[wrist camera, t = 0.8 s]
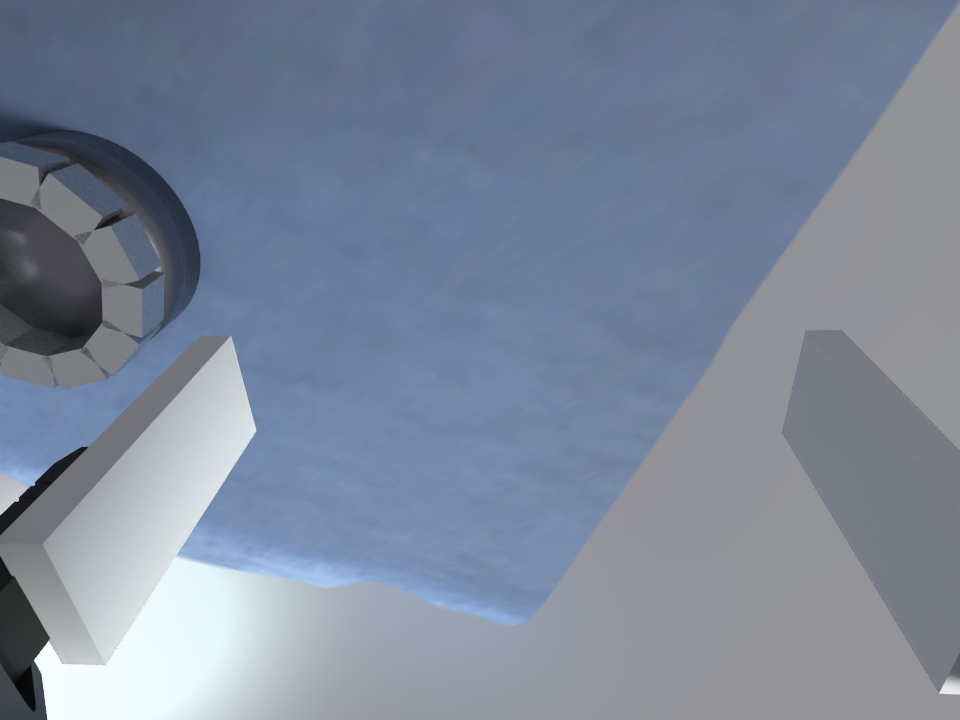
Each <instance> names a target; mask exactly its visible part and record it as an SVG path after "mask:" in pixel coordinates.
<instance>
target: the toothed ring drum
mask: <svg viewBox="0 0 960 720" xmlns="http://www.w3.org/2000/svg"><path fill="white" fill-rule="evenodd" d="M199 274H200V252H199V245H198V240H197V237H196V233H195V230H194V227H193V225H192V222H191V220H190V218H189V215H188V213H187V212H186V210H185V208H184V206H183V204H182V203H181V201H180V200H179V198H178V197H177V195H176V194H175V193H174V191H173V190H172V188H171V187H170V186H169V185H168V184H167V183H166V182H165V180H164V179H163V178H162V177H161V176H160V175H159V174H158V173H157V172H156V171H155V170H154V169H153V168H152V167H150V166H149V165H148V164H147V163H145V162H144V161H143V160H142V159H140V158H139V157H138V156H136V155H135V154H133V153H131V152H130V151H128V150H126V149H125V148H123V147H121V146H119V145H117V144H115V143H113V142H111V141H109V140H106V139H103V138H100V137H97V136H94V135H90V134H86V133H81V132H72V131H54V132H47V133H43V134H38V135H34V136H30V137H26V138H21V139H17V140H13V141H9V142H5V143H1V141H0V366H1V367H2V375H4V376H7V377H11V378H15V379H19V380H23V381H27V382H31V383H35V384H38V385H42V386H46V387H50V388H56V387H57V386H58V385H61V387H62V388H63V389H65V388H70V387H74V386H79V385H84V384H88V383H93V382H98V381H102V380H107V379H108V378H109V377H110V376H111V375H113V376H114V375H115V374H116V373H117V372H118V371H119V370H121V369H122V368H123V367H124V366H125V365H126V364H127V363H129V362H130V361H131V360H132V359H133V358H134V357H136V355H137V354H138V353H139V352H140V351H141V349H142V348H143V347H144V346H145V345H146V343H147V342H148V341H149V340H151V339H152V338H153V337H154V336H155V335H156V334H158V333H159V332H160V331H161V330H162V329H163V328H165V327H166V326H167V325H168V324H169V323H170V322H172V321H173V320H174V319H175V318H176V317H177V316H178V315H179V314H180V313H181V312H182V311H183V310H184V309H185V308H186V307H187V305H188V304H189V303H190V301H191V299H192V297H193V295H194V293H195V291H196V288H197V284H198V281H199Z"/></svg>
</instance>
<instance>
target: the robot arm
mask: <svg viewBox="0 0 960 720" xmlns="http://www.w3.org/2000/svg"><path fill="white" fill-rule="evenodd" d="M255 432H256V428H255V424H254V420H253V417H252V413H251V409H250V405H249V402H248V398H247V394H246V390H245V386H244V383H243V379H242V375H241V371H240V367H239V364H238V360H237V356H236V352H235V349H234V345H233V341H232V337H231V336H199V337H198V338H197V339H196V340H195V341H194V342H193V343H192V344H191V345H190V346H189V347H188V348H187V349H186V350H185V351H184V352H183V353H182V354H181V355H180V356H179V357H178V358H177V359H176V360H175V361H174V362H173V363H172V364H171V365H170V366H169V367H168V368H167V369H166V370H165V371H164V372H163V373H162V374H161V375H160V376H159V377H158V378H157V379H156V380H155V381H154V382H153V383H152V384H151V385H150V386H149V387H148V388H147V389H146V390H145V391H144V392H143V393H142V394H141V395H140V396H139V397H138V398H137V399H136V400H135V401H134V402H133V403H132V404H131V405H130V406H129V407H128V408H127V409H126V410H125V411H124V412H123V413H122V414H121V415H120V416H119V417H118V418H117V419H116V420H115V421H114V422H113V423H112V424H111V425H110V426H109V427H108V428H107V429H106V430H105V431H104V432H103V433H102V434H101V435H100V436H99V437H98V438H97V439H96V440H95V441H94V442H93V443H92V444H91V445H90V446H89V447H81V448H79V449H77V450H76V451H74V452H72V453H71V454H69V455H68V456H66V457H64V458H63V459H61V460H59V461H58V462H56V463H54V464H53V465H52V466H51V467H50V468H49V469H48V470H47V471H46V472H45V473H44V474H43V475H42V476H41V477H40V478H39V479H38V480H37V481H36V482H35V486H31V487H30V488H28V489H27V490H26V492H24V493H23V494H22V495H21V496H20V497H19V501H18V502H14V503H13V504H12V505H11V506H10V507H9V508H8V509H7V510H6V511H5V512H4V513H3V514H1V515H0V720H47V714H46V706H45V698H44V691H43V683H42V676H41V673H40V671H39V669H38V667H37V665H36V663H35V662H34V659H35V658H36V657H37V655H38V654H39V653H40V651H41V650H42V649H43V647H44V646H45V645H46V643H47V642H48V641H50V643H51V645H52V646H53V648H54V650H55V652H56V654H57V655H58V657H59V659H60V660H61V662H62V664H85V665H106V664H107V662H108V661H109V660H110V658H111V656H112V655H113V653H114V652H115V650H116V649H117V647H118V646H119V644H120V642H121V641H122V639H123V638H124V636H125V635H126V633H127V631H128V630H129V628H130V627H131V625H132V624H133V622H134V621H135V619H136V617H137V616H138V614H139V613H140V611H141V610H142V608H143V606H144V605H145V603H146V602H147V600H148V599H149V597H150V596H151V594H152V592H153V591H154V589H155V588H156V586H157V585H158V583H159V582H160V580H161V579H162V577H163V575H164V574H165V572H166V571H167V569H168V567H169V566H170V564H171V563H172V561H173V560H174V558H175V557H176V555H177V554H178V552H179V550H180V549H181V547H182V546H183V544H184V543H185V541H186V540H187V538H188V536H189V535H190V533H191V532H192V530H193V529H194V527H195V526H196V524H197V522H198V521H199V519H200V518H201V516H202V515H203V513H204V511H205V510H206V508H207V507H208V505H209V504H210V502H211V501H212V499H213V497H214V496H215V494H216V493H217V491H218V490H219V488H220V487H221V485H222V483H223V482H224V480H225V479H226V477H227V476H228V474H229V473H230V471H231V469H232V468H233V466H234V465H235V463H236V462H237V460H238V458H239V457H240V455H241V454H242V452H243V451H244V449H245V448H246V446H247V444H248V443H249V441H250V440H251V438H252V437H253V435H254V434H255ZM782 434H783V435H784V437H785V439H786V440H787V442H788V444H789V445H790V447H791V449H792V450H793V452H794V454H795V455H796V457H797V459H798V460H799V462H800V464H801V465H802V467H803V468H804V470H805V472H806V474H807V475H808V477H809V479H810V480H811V482H812V484H813V485H814V487H815V488H816V490H817V492H818V494H819V495H820V497H821V499H822V500H823V502H824V503H825V505H826V507H827V508H828V510H829V512H830V513H831V515H832V517H833V518H834V520H835V522H836V523H837V525H838V527H839V528H840V530H841V532H842V533H843V535H844V537H845V538H846V540H847V542H848V543H849V545H850V546H851V548H852V550H853V552H854V553H855V555H856V557H857V558H858V560H859V562H860V563H861V565H862V567H863V568H864V570H865V571H866V573H867V575H868V577H869V578H870V580H871V582H872V583H873V585H874V586H875V588H876V589H877V591H878V593H879V595H880V596H881V598H882V600H883V601H884V603H885V605H886V606H887V608H888V609H889V611H890V613H891V615H892V616H893V618H894V620H895V621H896V623H897V625H898V626H899V628H900V629H901V631H902V633H903V635H904V636H905V638H906V639H907V641H908V643H909V645H910V646H911V648H912V650H913V651H914V653H915V655H916V656H917V658H918V660H919V661H920V663H921V664H922V666H923V668H924V669H925V671H926V673H927V674H928V676H929V678H930V679H931V681H932V683H933V684H934V686H935V688H936V689H937V691H938V693H940V694H960V450H959V449H958V448H957V447H956V446H955V445H954V444H953V443H952V442H951V441H950V440H949V439H948V438H947V437H946V436H945V435H944V434H943V433H942V432H941V431H940V430H939V429H938V428H937V427H936V426H935V425H934V424H933V423H932V422H931V421H930V420H929V419H928V418H927V416H925V415H924V414H923V412H922V411H921V410H920V409H919V408H918V407H917V406H916V405H914V403H913V402H912V401H911V400H910V399H909V398H908V397H907V396H906V395H905V394H904V393H903V392H902V391H901V390H900V389H899V388H898V387H897V386H896V385H895V384H894V383H893V382H892V381H891V380H890V379H889V378H888V377H887V376H886V375H885V374H884V373H883V372H882V371H881V370H880V369H879V368H878V367H877V366H876V365H875V363H873V361H871V359H870V358H869V357H868V356H867V355H866V354H865V353H864V352H863V351H862V350H861V349H860V348H859V347H858V346H857V345H856V344H855V343H854V342H853V341H852V340H851V339H850V338H849V337H848V336H847V335H846V334H845V333H844V332H843V331H842V330H826V331H825V330H823V331H821V330H820V331H806V332H805V336H804V340H803V345H802V349H801V353H800V358H799V362H798V366H797V370H796V374H795V379H794V383H793V387H792V391H791V396H790V400H789V404H788V408H787V413H786V417H785V421H784V426H783V430H782Z"/></svg>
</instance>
